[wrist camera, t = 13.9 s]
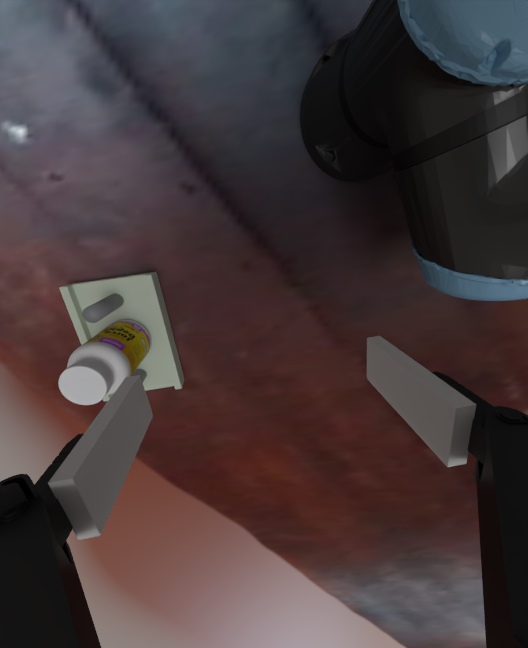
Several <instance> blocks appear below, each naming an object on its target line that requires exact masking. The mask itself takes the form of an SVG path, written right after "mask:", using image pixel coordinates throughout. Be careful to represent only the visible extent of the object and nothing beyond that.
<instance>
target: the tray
mask: <svg viewBox="0 0 528 648" xmlns="http://www.w3.org/2000/svg"><path fill="white" fill-rule="evenodd" d="M59 289H60V291H61V294H62V296H63V299H64V301H65V304H66V307H67V309H68V312H69V314H70V317H71V319H72V322H73V324H74V327H75V330H76V332H77V335H78V337H79V340H80V342H81V345H83V344H84V343H86V342H87V341H88V340H90V339H91V338H92V337H94V336H95V335H97V334H98V333H99V332H101V331H102V330H103V329H105V328H106V327H107V326H109V325H110V324H112V323H114V322H116V321H119V320H131V321H135V322H137V323H139V324H141V325H142V326H143V327H144V328H145V329H146V330H147V331H148V333H149V335H150V338H151V347H150V350H149V352H148V354H147V355H146V357H145V358H144V359H143V361H142V362H141V363H140V365H139V366H138V367H137V369H136V370H135V372H134V373H133V374H132V376H136V375H140V377H141V380H142V383H143V386H144V389H145V391H146V390H152V389H158V388H164V387H170V386H174V387H175V390H176V389H182V386H183V383H184V380H185V379H184V375H183V371H182V368H181V364H180V360H179V356H178V352H177V348H176V345H175V341H174V337H173V333H172V329H171V325H170V321H169V318H168V314H167V310H166V306H165V302H164V298H163V295H162V291H161V287H160V283H159V279H158V275H157V272H151V273H144V274H137V275H129V276H122V277H115V278H108V279H101V280H94V281H87V282H79V283H72V284H68V285H65V286H62V287H59ZM113 394H114V393H112V394H109V395H106V396H105V397H104V398H103V401H109V399H110V398H111V397H112V395H113Z"/></svg>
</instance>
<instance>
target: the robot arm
mask: <svg viewBox="0 0 528 648" xmlns="http://www.w3.org/2000/svg"><path fill="white" fill-rule="evenodd" d="M300 120H301V130H302V135H303V139H304V143H305V145H306V148H307V150H308V152H309V154H310V156H311V157H312V159H313V160H314V162H315V163H316V164H317V165H318V166H319V167H320V168H321V169H322V170H323V171H324V172H325V173H327V174H328V175H330V176H332V177H334V178H337V179H340V180H344V181H361V180H365V179H368V178H371V177H373V176H376V175H378V174H380V173H382V172H384V171H385V170H387V169H388V168H390V167H391V166H392V165H394V168H395V174H396V178H397V182H398V186H399V190H400V194H401V197H402V201H403V206H404V210H405V214H406V218H407V222H408V227H409V231H410V235H411V239H412V250H413V253H414V254H415V256H416V257H417V259H418V262H419V265H420V268H421V272H422V275H423V277H424V279H425V280H426V281H427V282H428V284H429V285H431V286H433V287H435V288H436V289H438V291H440V292H442V293H445V294H448V295H451V296H454V297H459V298H464V299H470V300H481V301H507V300H519V299H526V298H528V0H373V2H372V3H371V5H370V7H369V8H368V10H367V12H366V14H365V15H364V17H363V19H362V20H361V22H360V24H359V25H358V27H357V28H356V29H354V30H353V31H351V32H350V33H348V34H346V35H345V36H343V37H342V38H340V39H339V40H337V41H336V42H335V43H334V44H333V45H332V46H330V47H329V48H328V50H327V51H326V52H325V53H324V54H323V56H322V57H321V58H320V60H319V61H318V63H317V64H316V66H315V68H314V70H313V72H312V74H311V76H310V78H309V80H308V82H307V85H306V87H305V90H304V94H303V98H302V103H301V114H300ZM367 379H368V380H369V381H370V383H371V384H372V385H373V386H374V387H375V388H376V389H377V390H378V391H379V392H380V394H381V395H382V396H383V397H384V398H385V399H386V400H387V401H388V402H389V403H390V405H391V406H392V407H393V408H394V409H395V410H396V411H397V412H398V413H399V414H400V415H401V417H402V418H403V419H404V420H405V421H406V422H407V423H408V424H409V425H410V426H411V428H412V429H413V430H414V431H415V432H416V433H417V434H418V435H419V436H420V437H421V439H422V440H423V441H424V442H425V443H426V444H427V445H428V446H429V447H430V448H431V450H432V451H433V452H434V453H435V454H436V455H437V456H438V457H439V458H440V459H441V461H442V462H443V463H444V464H445V465H446V466H447V467H451V466H456V465H461V464H466V462H467V456H468V451H469V452H470V453H471V454H472V455H473V456H474V457H475V458H476V459H477V462H476V467H475V472H474V478H473V481H474V482H477V497H478V514H479V530H480V547H481V564H482V580H483V597H484V614H485V630H486V647H487V648H528V416H527V415H526V414H524V413H522V412H520V411H518V410H515V409H512V408H508V407H501V406H496V407H493V406H492V405H491V404H489V403H488V402H486V401H485V400H483V399H482V398H480V397H479V396H477V395H476V394H474V393H473V392H471V391H470V390H468V389H466V388H465V387H464V386H462V385H461V384H458V382H456V381H455V380H453V379H452V378H450V377H449V376H446V375H444V374H441V373H439V372H430V371H428V370H427V369H426V368H424V367H423V366H421V365H420V364H419V363H417V362H416V361H414V360H413V359H412V358H410V357H409V356H407V355H406V354H404V353H403V352H402V351H400V350H399V349H397V348H396V347H395V346H393V345H392V344H390V343H389V342H388V341H386V340H385V339H383V338H382V337H381V336H376V337H370V338H367ZM152 417H153V414H152V411H151V407H150V404H149V401H148V398H147V395H146V392H145V389H144V386H143V383H142V380H141V377H140V375H136V376H130V377H126V378H125V379H124V380H123V382H122V383H121V385H120V386H119V387H118V389H117V390H116V391H115V393H114V394H113V395H112V397H111V398H110V399H109V401H108V402H107V403H106V405H105V406H104V408H103V409H102V410H101V412H100V413H99V414H98V416H97V417H96V418H95V420H94V421H93V422H92V424H91V425H90V427H89V428H88V429H87V431H86V432H85V433H84V434H78V435H77V436H76V437H75V438H74V439H72V440H71V441H70V442H68V443H67V444H66V446H65V447H64V448H63V449H62V451H61V452H60V453H59V456H57V457H56V458H55V460H54V461H53V462H52V464H51V465H50V466H49V467H48V468H47V470H46V471H45V472H44V474H43V475H42V476H41V477H40V479H39V480H38V481H37V482H36V484H35V485H34V484H33V482H32V480H31V479H30V477H29V476H28V475H27V474H19V475H15V476H12V477H9V478H7V479H5V480H3V481H1V482H0V648H101V646H100V642H99V639H98V636H97V633H96V630H95V627H94V624H93V621H92V617H91V614H90V611H89V608H88V604H87V601H86V598H85V595H84V592H83V589H82V586H81V582H80V579H79V576H78V573H77V570H76V567H75V563H74V561H73V557H72V554H71V551H70V548H69V545H68V544H67V542H66V540H67V538H68V536H69V534H70V532H71V531H72V529H73V531H74V532H75V534H76V536H77V538H78V540H80V539H86V538H91V537H96V536H101V533H102V531H103V529H104V526H105V524H106V522H107V520H108V517H109V515H110V513H111V511H112V508H113V506H114V504H115V501H116V499H117V497H118V494H119V492H120V490H121V488H122V485H123V483H124V481H125V478H126V476H127V474H128V472H129V469H130V467H131V465H132V462H133V460H134V458H135V456H136V453H137V451H138V449H139V446H140V444H141V442H142V440H143V437H144V435H145V433H146V430H147V428H148V426H149V424H150V421H151V419H152Z"/></svg>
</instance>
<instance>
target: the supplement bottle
mask: <svg viewBox="0 0 528 648" xmlns="http://www.w3.org/2000/svg"><path fill="white" fill-rule="evenodd" d="M150 347H151V338H150V335H149V333H148V331H147V330H146V329H145V328H144V327H143V326H142V325H141V324H139V323H137V322H135V321H131V320H119V321H116V322H114V323H112V324H110V325H109V326H107V327H106V328H105V329H103V330H102V331H101V332H99V333H98V334H97V335H95V336H94V337H92V338H91V339H90V340H88V341H87V342H86V343H84V344H83V345H82V346H80V347H79V348H78V349H76V350H75V351H74V352H73V353H72V355H71V356H70V358H69V360H68V365H67V369H66V370H65V371H64V372H63V373H62V374H61V376H60V378H59V388H60V391H61V392H62V394H63V395H64V396H65V397H66V398H67V399H68V400H70V401H71V402H74V403H76V404H80V405H91V404H95V403H97V402H99V401H101V400H102V399H103V398H104V397H105V396H106V395H109V394H112V393H115V391H116V390H117V389H118V387H119V386H120V385H121V383H122V382H123V380H124V379H125V378H126V377H130V376H132V374H133V373H134V372H135V370H136V369H137V367H138V366H139V365H140V363H141V362H142V361H143V359H144V358H145V357H146V355H147V354H148V352H149V350H150Z"/></svg>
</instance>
